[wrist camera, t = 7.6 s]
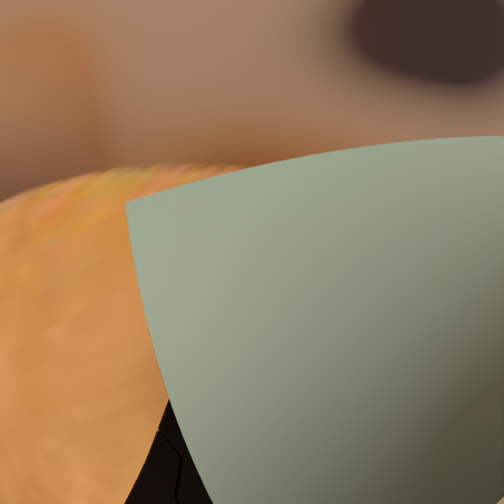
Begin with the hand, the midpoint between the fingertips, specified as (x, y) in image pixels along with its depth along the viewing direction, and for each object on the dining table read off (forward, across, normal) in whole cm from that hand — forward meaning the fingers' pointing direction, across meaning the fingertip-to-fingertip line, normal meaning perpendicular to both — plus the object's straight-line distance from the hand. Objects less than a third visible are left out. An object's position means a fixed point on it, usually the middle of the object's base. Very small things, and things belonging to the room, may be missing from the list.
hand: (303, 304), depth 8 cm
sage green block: (+4, 0, +6) cm, 7 cm away
